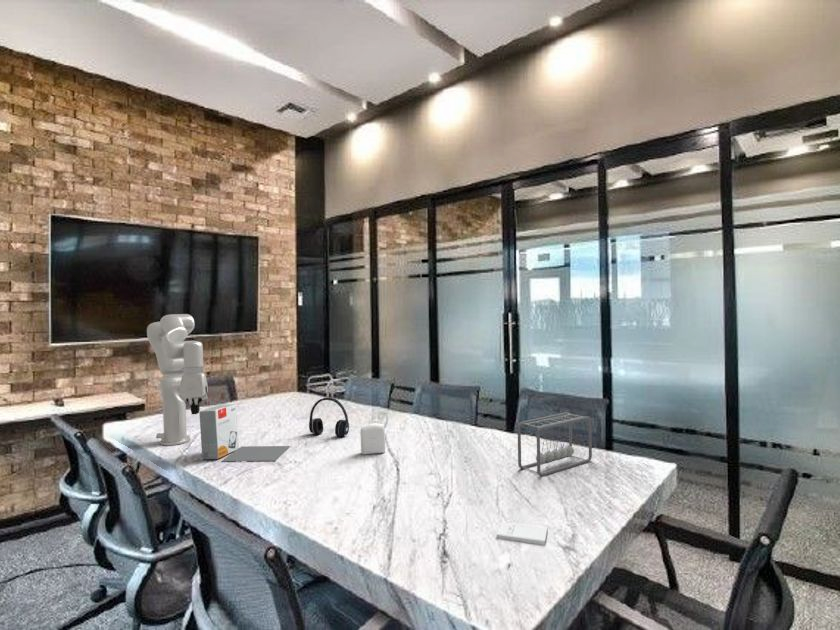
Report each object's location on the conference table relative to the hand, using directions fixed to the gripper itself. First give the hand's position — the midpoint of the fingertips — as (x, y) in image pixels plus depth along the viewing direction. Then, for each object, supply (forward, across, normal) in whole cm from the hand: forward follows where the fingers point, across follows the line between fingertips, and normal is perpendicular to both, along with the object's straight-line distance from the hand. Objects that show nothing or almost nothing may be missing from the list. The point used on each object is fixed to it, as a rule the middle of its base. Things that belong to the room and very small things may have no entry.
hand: (195, 413), depth 200 cm
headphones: (+18, +50, +29) cm, 61 cm away
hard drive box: (+18, +10, +1) cm, 21 cm away
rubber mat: (+18, +26, +1) cm, 32 cm away
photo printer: (+19, +75, +1) cm, 78 cm away
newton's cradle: (+20, +148, -18) cm, 150 cm away
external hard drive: (+21, +124, -72) cm, 145 cm away
